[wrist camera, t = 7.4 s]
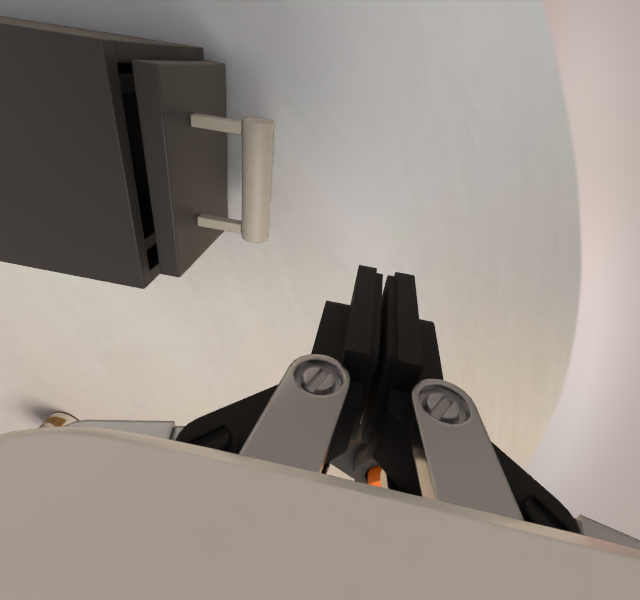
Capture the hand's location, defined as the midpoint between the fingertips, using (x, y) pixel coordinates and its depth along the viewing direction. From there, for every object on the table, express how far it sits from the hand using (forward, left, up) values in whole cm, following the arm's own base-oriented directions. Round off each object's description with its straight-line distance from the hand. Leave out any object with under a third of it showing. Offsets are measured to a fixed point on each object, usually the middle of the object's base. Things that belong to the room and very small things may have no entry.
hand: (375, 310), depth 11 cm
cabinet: (+11, -16, -16) cm, 25 cm away
